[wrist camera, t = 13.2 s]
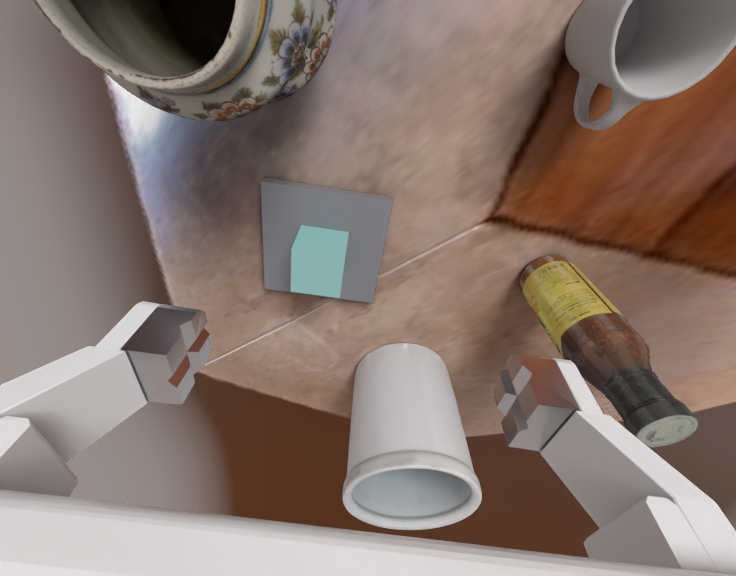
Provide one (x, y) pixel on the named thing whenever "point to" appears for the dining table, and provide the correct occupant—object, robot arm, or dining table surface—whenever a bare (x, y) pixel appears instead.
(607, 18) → the cup
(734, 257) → the dining table surface
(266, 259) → the tile
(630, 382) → the sauce bottle
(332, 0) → the apothecary jar
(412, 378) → the utensil holder
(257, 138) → the dining table surface
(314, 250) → the cube
